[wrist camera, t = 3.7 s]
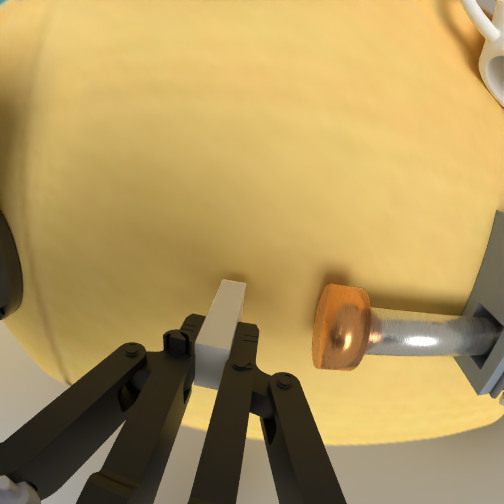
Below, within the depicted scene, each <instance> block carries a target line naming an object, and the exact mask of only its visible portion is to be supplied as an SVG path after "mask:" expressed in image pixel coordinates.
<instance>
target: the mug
mask: <svg viewBox="0 0 504 504" xmlns="http://www.w3.org/2000/svg"><path fill="white" fill-rule="evenodd" d="M496 1H497V3H496V6H495V10H494V14H493V18H492V21H490V20H489V19H488V18H487V16H486V15H485V14H484V12H483V11H482V10H481V8H480V7H479V5H478V4H477V2H476V0H460V2H461V4H462V6H463V8H464V10H465V12H466V14H467V15H468V17H469V18H470V20H471V21H472V23H473V24H474V25H475V27H476V28H477V29H478V31H479V32H480V33H481V34H482V36H483V37H484V38H485V39H486V40H485V43H484V46H483V49H482V52H481V55H480V58H479V71H480V75H481V78H482V80H483V82H484V84H485V86H486V87H487V89H488V90H489V92H490V93H491V94H492V96H493V97H494V98H495V99H496V100H497V101H498V102H499V103H500V104H501V105H502V106H503V107H504V0H496Z"/></svg>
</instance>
